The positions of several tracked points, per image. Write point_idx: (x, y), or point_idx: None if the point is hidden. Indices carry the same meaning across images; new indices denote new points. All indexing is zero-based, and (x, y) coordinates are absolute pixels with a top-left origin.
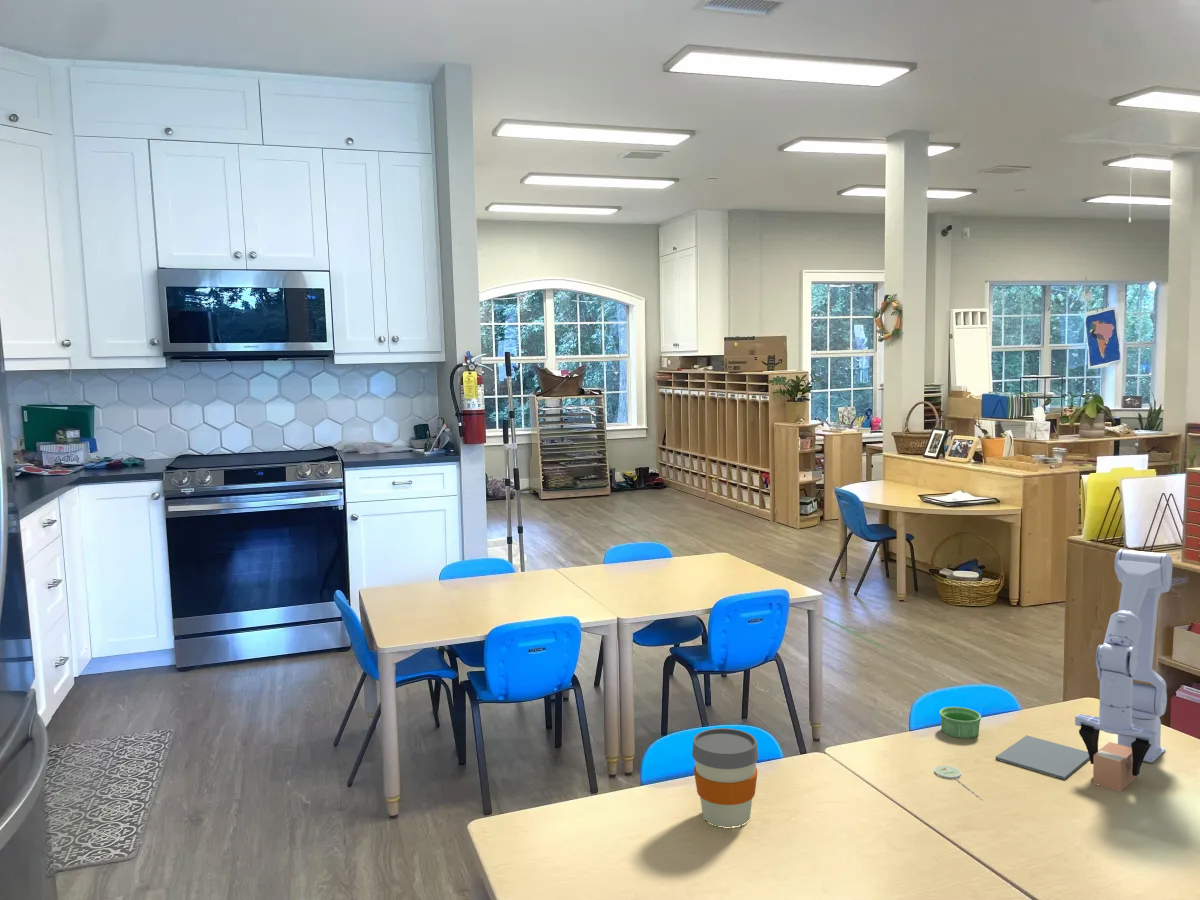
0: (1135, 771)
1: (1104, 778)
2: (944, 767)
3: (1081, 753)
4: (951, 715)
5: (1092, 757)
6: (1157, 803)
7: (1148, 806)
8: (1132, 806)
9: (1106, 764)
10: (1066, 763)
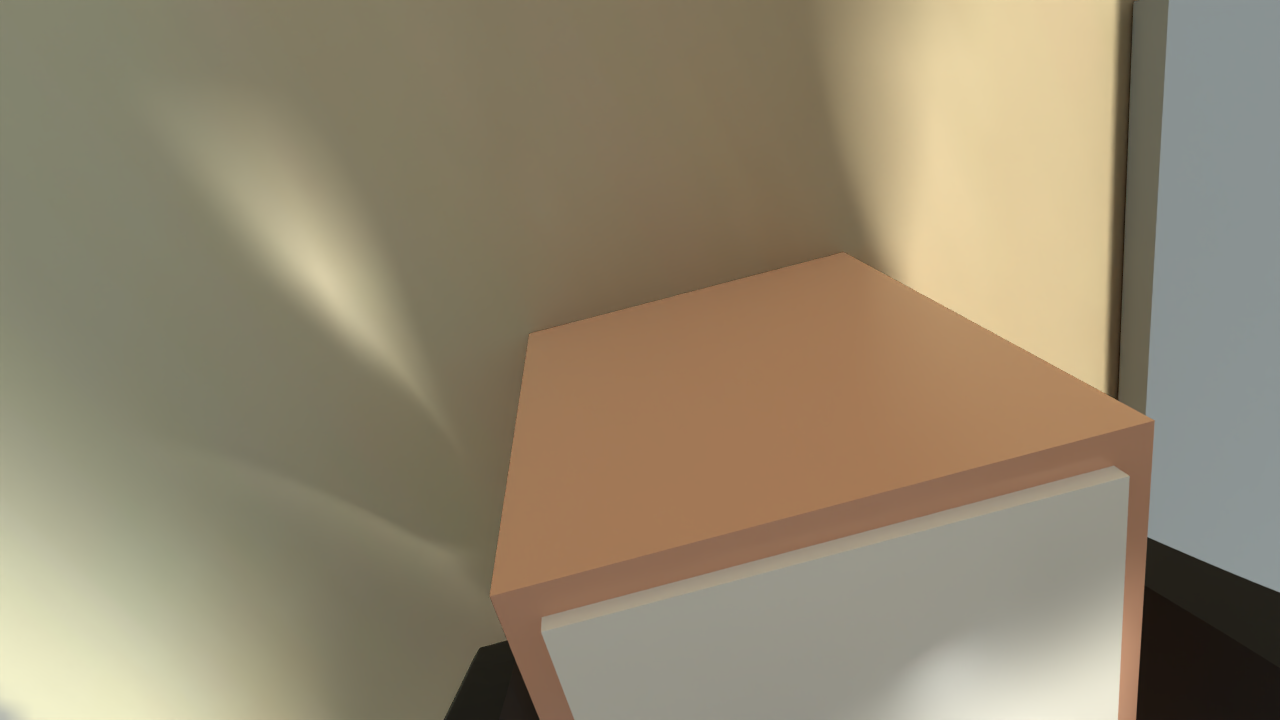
0: (461, 697)
1: (740, 315)
2: None
3: None
4: None
5: None
6: (96, 409)
7: (58, 234)
8: (130, 31)
9: (788, 428)
10: (1265, 408)
